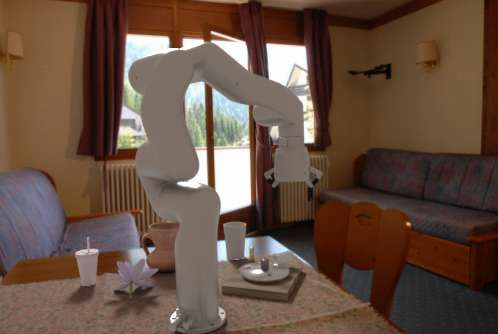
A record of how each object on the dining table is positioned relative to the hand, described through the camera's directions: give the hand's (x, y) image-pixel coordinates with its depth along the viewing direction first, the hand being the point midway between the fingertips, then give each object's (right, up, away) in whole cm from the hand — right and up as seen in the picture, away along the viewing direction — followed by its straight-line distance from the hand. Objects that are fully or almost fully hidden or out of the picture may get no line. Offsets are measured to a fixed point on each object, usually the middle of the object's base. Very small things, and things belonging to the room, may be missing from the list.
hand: (293, 200), depth 110 cm
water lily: (-44, -25, -8) cm, 52 cm away
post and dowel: (-10, -21, +1) cm, 24 cm away
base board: (-9, -23, -3) cm, 25 cm away
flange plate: (-7, -21, -1) cm, 22 cm away
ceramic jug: (-40, -23, +11) cm, 47 cm away
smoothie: (-60, -25, -2) cm, 65 cm away
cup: (-18, -22, +20) cm, 35 cm away
